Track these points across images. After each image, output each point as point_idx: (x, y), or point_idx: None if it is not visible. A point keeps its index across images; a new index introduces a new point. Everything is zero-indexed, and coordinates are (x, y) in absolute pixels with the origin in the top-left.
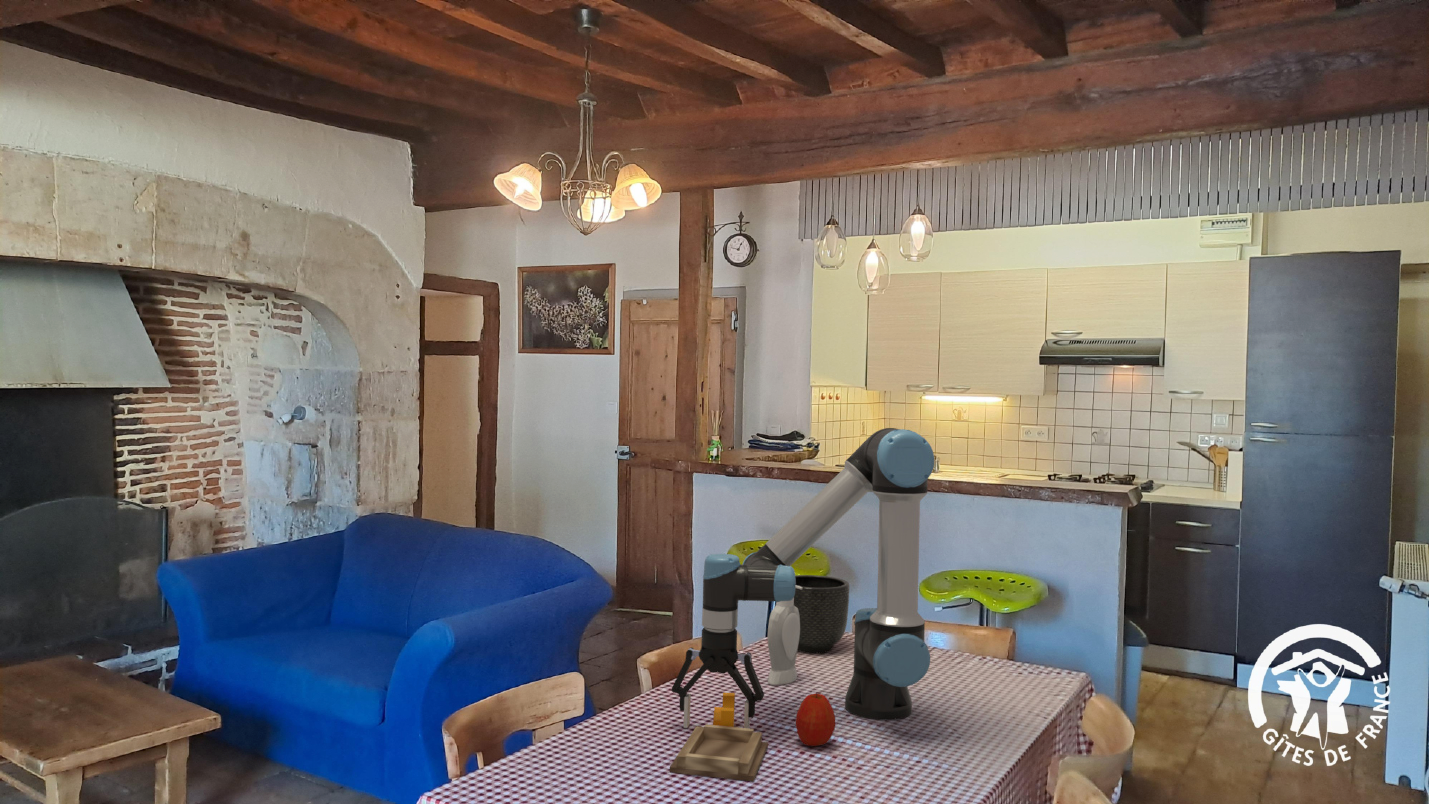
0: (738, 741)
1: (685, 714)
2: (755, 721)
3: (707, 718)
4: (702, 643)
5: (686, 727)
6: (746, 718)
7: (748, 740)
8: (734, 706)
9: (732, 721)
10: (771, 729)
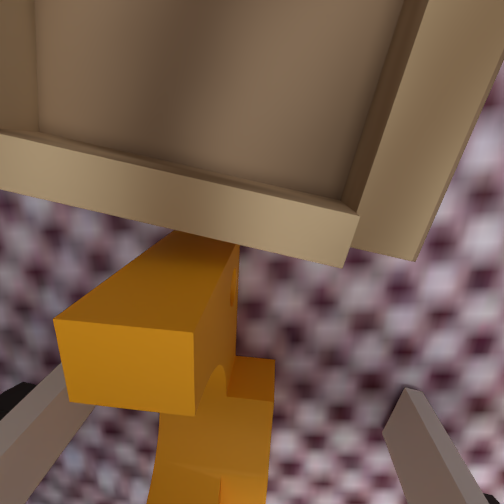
0: (122, 151)
1: (452, 457)
2: (99, 454)
3: (292, 487)
4: None
5: (408, 391)
6: (60, 373)
7: (52, 137)
8: None
9: (124, 274)
10: (22, 379)
